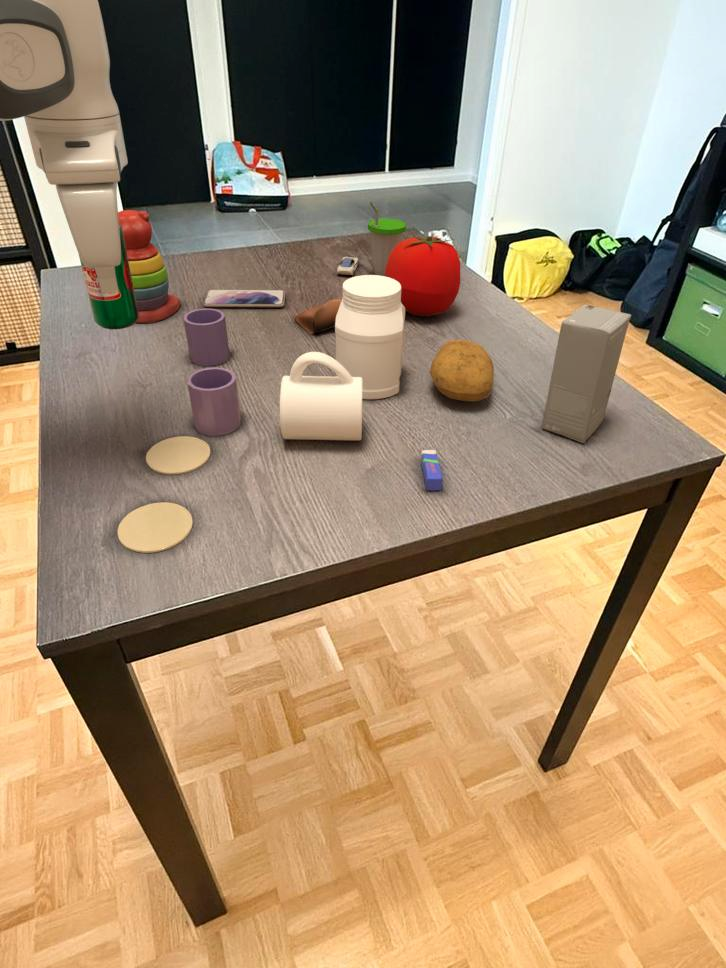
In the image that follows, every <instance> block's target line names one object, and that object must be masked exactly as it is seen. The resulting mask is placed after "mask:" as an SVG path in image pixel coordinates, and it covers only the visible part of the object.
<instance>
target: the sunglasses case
mask: <svg viewBox="0 0 726 968" xmlns="http://www.w3.org/2000/svg"><path fill="white" fill-rule="evenodd" d="M342 297H343V296H338V297H337V298H332V299H329V300H327V301H326V302H324V303H323V304H319V305H316V306H314V307H310V308H308V309H306V310H303V311H302V312H299V313H298V314H296V315H295V316H294V321H295V322H296V324H298V326H300V327H301V328H302V329H303V330H304V331H306V332H307V333H308V334H310V335H314V334H315V333H319V332H322V331H325V330H329V329H331V328H335V321H336V315H337V313H338V310H339V307H340V304H341V301H342Z"/></svg>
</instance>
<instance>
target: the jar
mask: <svg viewBox="0 0 726 968" xmlns="http://www.w3.org/2000/svg"><path fill="white" fill-rule="evenodd" d="M341 294H342V296H341V297H342V301H341V304H340V307H339V310H338V313H337V315H336V321H335V326H334V333H335V360H336V361H338V362H339V363H340V364H341V365H342V366H343V367H344V368H345V369H346V370H347V371H348V372H349V374H350V375H351V377H361V378H362V379H363V394H362V400H380V399H381V400H382V399H386V398H390V397H393V396H395V395H396V394H397V395H398V394H399V393H400V385H401V384H400V377H401V375H402V367H403V366H402V360H403V359H402V358H403V343H404V329H405V319H406V310H405V307H404V306H403V305H402V303H401V285H400V283H399V282H398V281H396V280H394V279H392V278H389V277H385V276H379V275H374V274H362V275H356V276H352V277H349V278H347V279H346V280H345V281H343V283H342V293H341ZM335 377H338V375H337V374H336V373H335Z"/></svg>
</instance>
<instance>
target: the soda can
mask: <svg viewBox="0 0 726 968" xmlns="http://www.w3.org/2000/svg"><path fill="white" fill-rule="evenodd" d="M119 230H120V241H121V263H120V265H118V266H115V275H116V280H117V285H118V291H117V292H115V293H103V292H102V291H101V288H100V284H99V280H98V276H97V274H96V271H95V268H87V267H85V266H84V264H83V262H82V260H81V258H80V256H79V253H78V252H77V253H78V258H79V261H80V267H81V270H82V274H83V278H84V283H85V286H86V291H87V294H88V301H89V305H90V308H91V311H92V315H93V320H94V322H95V323H96V324H97V325H98V326H99V327H101V328H102V329H105V330H122V329H127V328H130V327H132V326H133V325H135V324H137V323H136V321H137V320H138V318H139V313H138V308H137V303H136V298H135V293H134V288H133V282H132V277H131V272H130V267H129V262H128V256H127V251H126V246H125V241H124V236H123V231H122V226H121V225H120V224H119Z"/></svg>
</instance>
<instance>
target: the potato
mask: <svg viewBox="0 0 726 968" xmlns="http://www.w3.org/2000/svg"><path fill="white" fill-rule="evenodd" d="M494 367H495V366H494V363H493V360H492V357H491V356H490V355H489V354H488V352H487V350H485V348H484V346H482V345H480V344H479V343H476V342H474V341H471V340H467V339H454V340H453V339H452V340H450V341H448V342H446V343H443V344H442V345H441V346H440V348H439V350H438V351H437V353H436V355H435V357H434V358H433V360H432V362H431V364H430V370H429V375H430V377H431V379H432V381H433V384H434V385H435V387H436V388H437V390H438V391H439V393H441V394H442V395H444V396H445V397H447V398H449V399H450V400H457V401H461V402H479V401H482V400H483V399H485V398H489V396H490V394H491V392H492V388H493V384H494V375H495V374H494V373H495V368H494Z"/></svg>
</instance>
